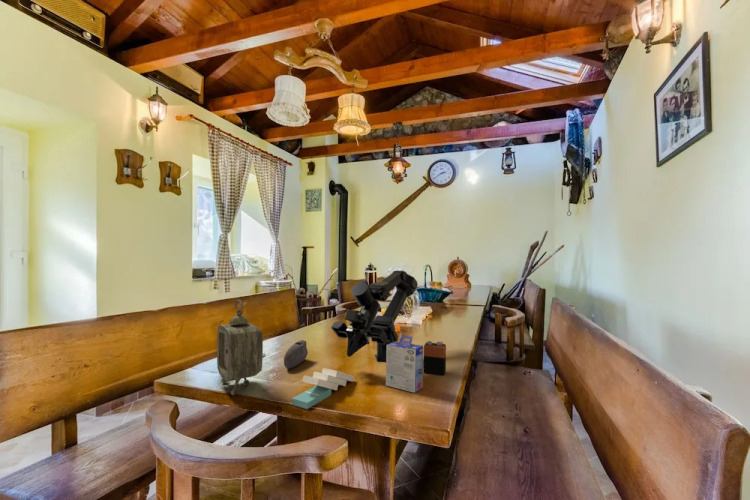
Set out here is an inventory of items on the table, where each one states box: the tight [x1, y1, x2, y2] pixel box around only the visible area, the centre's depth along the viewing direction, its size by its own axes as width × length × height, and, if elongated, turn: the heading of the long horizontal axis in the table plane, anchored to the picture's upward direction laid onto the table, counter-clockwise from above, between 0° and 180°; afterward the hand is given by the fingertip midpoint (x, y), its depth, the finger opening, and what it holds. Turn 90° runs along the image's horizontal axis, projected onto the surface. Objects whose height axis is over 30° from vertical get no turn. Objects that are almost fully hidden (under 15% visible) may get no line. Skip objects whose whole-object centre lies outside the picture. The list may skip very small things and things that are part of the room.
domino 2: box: [291, 385, 332, 410], centre depth 87 cm, size 2×5×10 cm
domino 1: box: [301, 374, 339, 391], centre depth 90 cm, size 2×5×10 cm
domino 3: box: [312, 371, 348, 387], centre depth 94 cm, size 2×5×10 cm
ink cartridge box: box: [385, 334, 424, 394], centre depth 97 cm, size 10×6×14 cm, turn 58°
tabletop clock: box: [216, 299, 264, 396], centre depth 95 cm, size 14×9×25 cm, turn 37°
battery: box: [423, 340, 447, 376], centre depth 109 cm, size 4×7×10 cm, turn 72°
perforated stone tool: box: [283, 339, 308, 370], centre depth 115 cm, size 15×5×7 cm, turn 168°
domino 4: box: [321, 367, 355, 382], centre depth 97 cm, size 2×5×10 cm
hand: (348, 356), depth 102 cm, fingers closed
